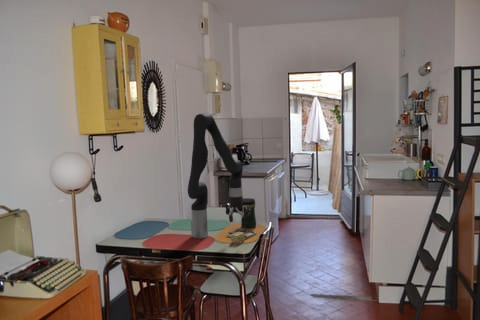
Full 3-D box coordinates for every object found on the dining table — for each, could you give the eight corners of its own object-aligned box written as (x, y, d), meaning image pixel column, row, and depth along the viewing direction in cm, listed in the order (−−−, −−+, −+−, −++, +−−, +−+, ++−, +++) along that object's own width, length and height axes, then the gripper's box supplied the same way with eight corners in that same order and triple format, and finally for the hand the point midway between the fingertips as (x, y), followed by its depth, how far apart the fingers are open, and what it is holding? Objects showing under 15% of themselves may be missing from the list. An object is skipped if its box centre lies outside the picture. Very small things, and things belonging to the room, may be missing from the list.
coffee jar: (257, 224, 264) (256, 197, 262) (254, 228, 256) (253, 200, 254) (243, 224, 267) (242, 196, 264) (240, 227, 259) (238, 199, 257)
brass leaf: (231, 243, 230) (230, 234, 229) (238, 239, 235) (238, 231, 235) (237, 244, 227) (237, 235, 226) (244, 241, 233) (244, 232, 232)
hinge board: (226, 236, 241) (226, 230, 241) (239, 230, 252) (239, 225, 251) (244, 240, 234) (244, 234, 233) (256, 234, 244) (256, 228, 244)
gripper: (222, 195, 229) (223, 223, 230) (242, 197, 220) (243, 226, 222) (230, 193, 235) (231, 219, 237) (250, 194, 226) (251, 222, 228)
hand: (237, 222), depth 229 cm, fingers open, 8 cm apart
